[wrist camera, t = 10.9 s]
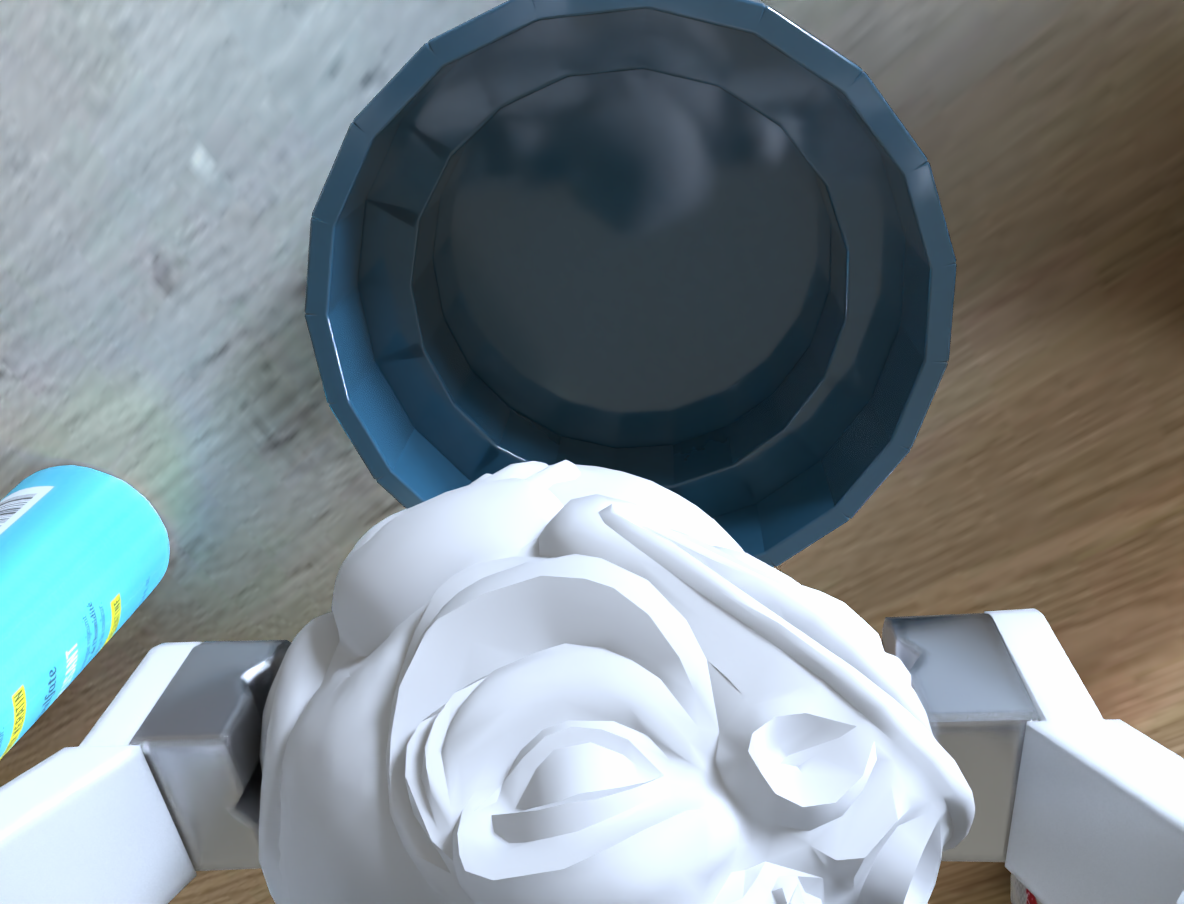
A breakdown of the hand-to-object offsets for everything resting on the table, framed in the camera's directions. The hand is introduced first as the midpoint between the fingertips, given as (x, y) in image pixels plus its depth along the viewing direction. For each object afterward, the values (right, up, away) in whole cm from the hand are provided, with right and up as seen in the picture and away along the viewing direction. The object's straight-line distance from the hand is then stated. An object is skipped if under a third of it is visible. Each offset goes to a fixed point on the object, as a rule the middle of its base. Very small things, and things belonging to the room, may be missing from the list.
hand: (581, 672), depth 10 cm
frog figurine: (0, +1, +2) cm, 3 cm away
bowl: (+1, +7, +13) cm, 15 cm away
